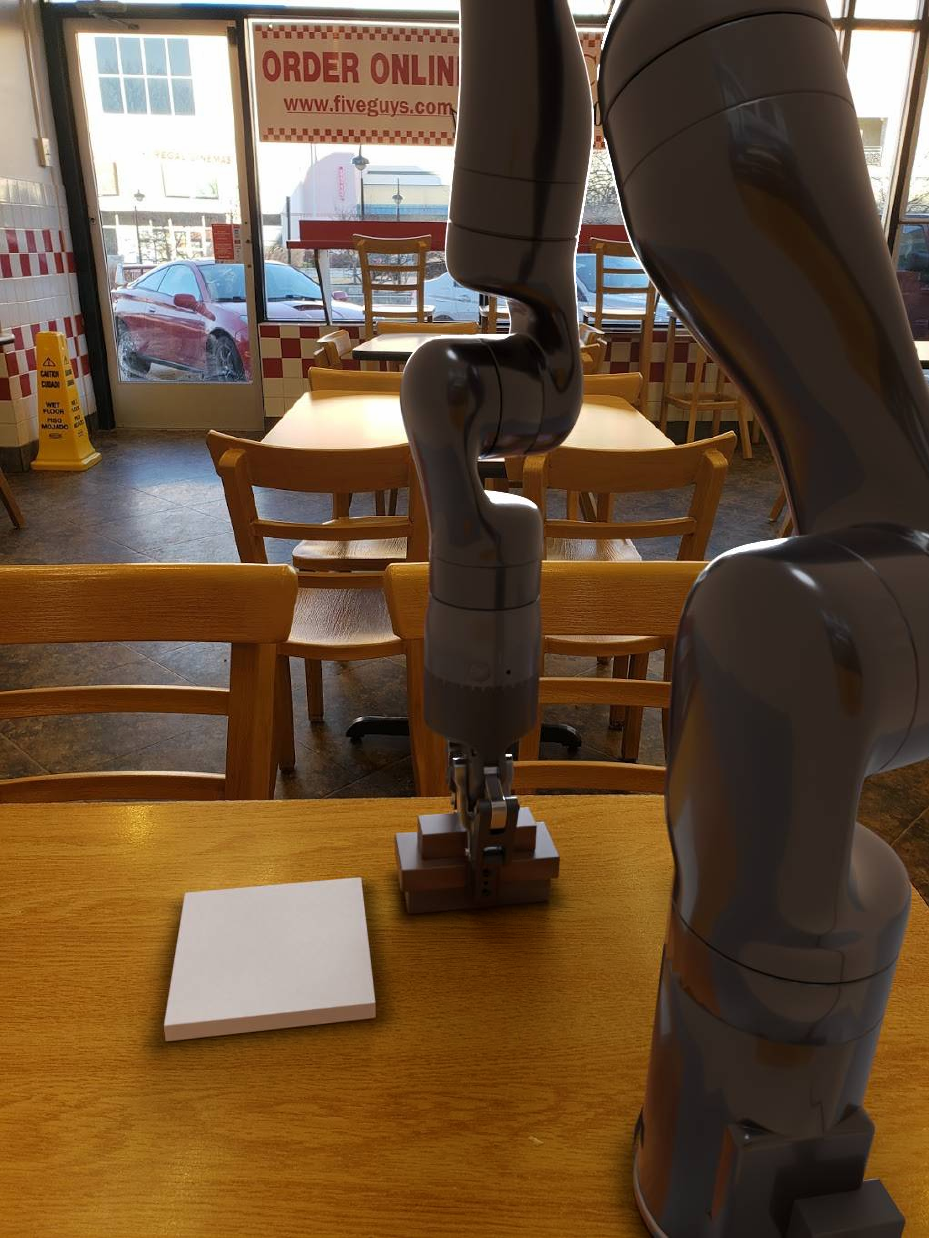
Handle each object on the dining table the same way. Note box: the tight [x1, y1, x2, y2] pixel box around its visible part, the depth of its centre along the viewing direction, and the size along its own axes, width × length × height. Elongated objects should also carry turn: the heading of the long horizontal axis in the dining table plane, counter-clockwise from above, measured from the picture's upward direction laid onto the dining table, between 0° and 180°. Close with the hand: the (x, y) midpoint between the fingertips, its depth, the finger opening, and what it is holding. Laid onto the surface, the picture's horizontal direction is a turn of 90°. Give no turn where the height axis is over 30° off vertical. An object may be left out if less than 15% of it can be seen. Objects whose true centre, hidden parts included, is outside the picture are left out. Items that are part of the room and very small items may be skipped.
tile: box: [163, 877, 377, 1042], centre depth 60 cm, size 12×12×1 cm
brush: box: [394, 806, 561, 915], centre depth 66 cm, size 11×4×6 cm, turn 100°
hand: (474, 876), depth 67 cm, fingers open, 4 cm apart
